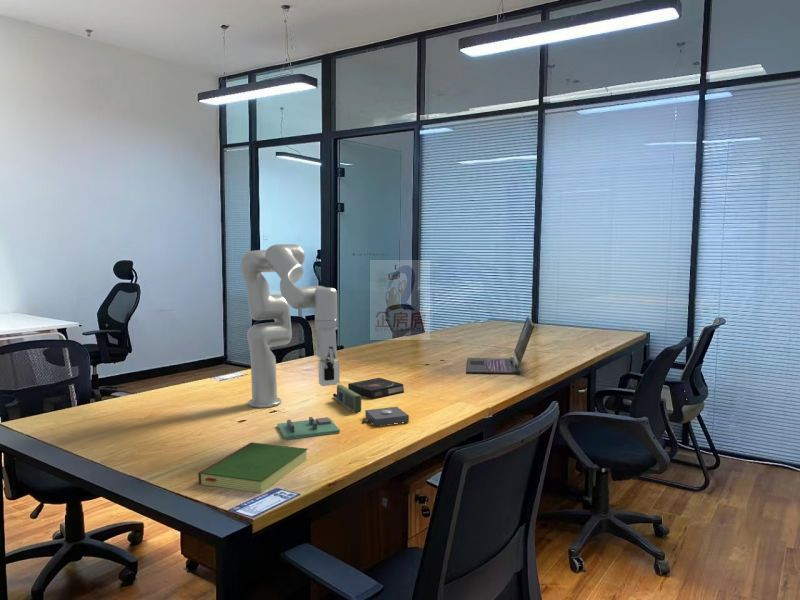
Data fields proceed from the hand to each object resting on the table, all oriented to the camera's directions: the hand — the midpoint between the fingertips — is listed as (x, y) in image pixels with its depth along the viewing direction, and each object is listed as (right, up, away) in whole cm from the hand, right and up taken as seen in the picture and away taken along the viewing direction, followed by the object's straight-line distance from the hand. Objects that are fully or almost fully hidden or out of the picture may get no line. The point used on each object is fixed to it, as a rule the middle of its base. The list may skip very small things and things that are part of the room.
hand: (327, 377), depth 197 cm
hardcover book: (-15, -21, -37) cm, 46 cm away
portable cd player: (+14, -13, +48) cm, 52 cm away
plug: (0, -2, 0) cm, 2 cm away
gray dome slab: (+18, -16, +8) cm, 26 cm away
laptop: (+74, -8, +96) cm, 122 cm away
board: (-6, -17, -1) cm, 18 cm away
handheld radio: (+3, -15, +30) cm, 33 cm away
